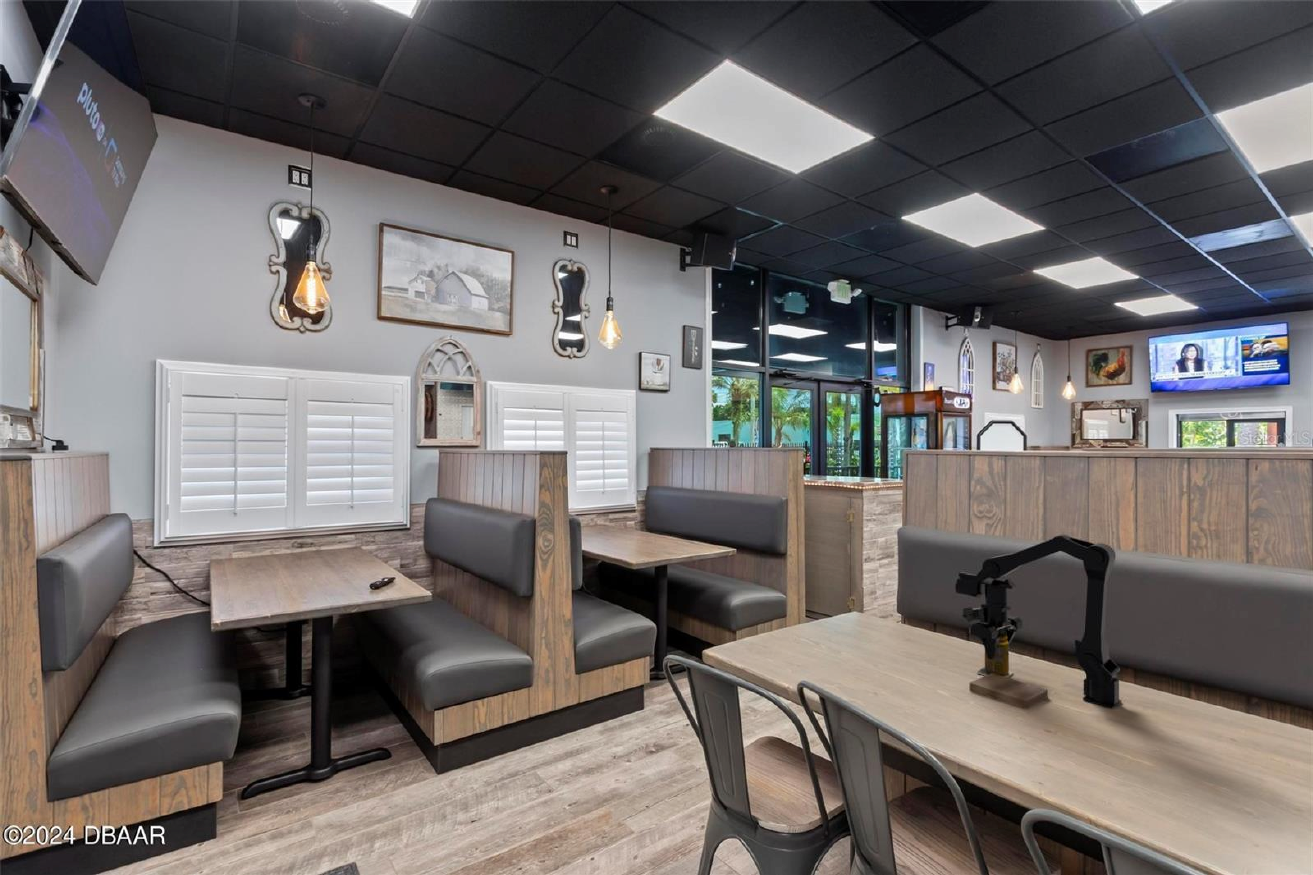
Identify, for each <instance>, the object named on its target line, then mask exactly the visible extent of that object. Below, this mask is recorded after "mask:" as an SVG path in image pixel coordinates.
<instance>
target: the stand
mask: <svg viewBox="0 0 1313 875" xmlns="http://www.w3.org/2000/svg"><path fill="white" fill-rule="evenodd" d="M969 691H970V692H974V693H977V694H979V695H983V696H986V697H989V698H991V699H994V700H998V701H1000V702H1003V703H1007V704H1010V705H1012V706H1015V707H1019V708H1022V709H1023V710H1024V709H1025V710H1027V709H1030V708H1031V707H1033V706H1036V705H1037V704H1039V703H1040V702H1042V700H1043V701H1044V700H1046V699H1048V697H1049V695H1048V694H1049V693H1048V692H1049V691H1048V689H1045V688H1042V687H1039V686H1035V685H1032V684H1029V683H1025V682H1023V681H1020V680H1016V679H1013V678H1009V677H1003V676H1000V675H997V674H993V673H991V674H989V675H987V676H985V675H983V676H982V677H980V678H978V679H975V680H973V681H970V682H969Z"/></svg>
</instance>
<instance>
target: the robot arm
mask: <svg viewBox="0 0 1313 875" xmlns="http://www.w3.org/2000/svg"><path fill="white" fill-rule="evenodd" d="M1059 552H1062V553H1065V554H1067V555H1068V556H1071V557H1072V558H1075V559H1078V560H1080V561H1082V562H1083V563H1082V564H1083V569H1084V572H1085V575H1086V577H1087V586H1086V599H1085V600H1086V602H1085V617H1084V619H1085V620H1084V621H1085V622H1084V633H1083V635H1079V636H1078V637H1077V638H1076V639H1074V647H1075V651H1074V653H1073V656H1074V657H1075V656H1076V662H1077V664H1078V665H1079V666H1080V667H1081V668H1082V669H1083V671H1084V673H1085V678H1084V679H1083V697H1082V700H1083V701H1087V702H1090V703H1093V704H1097V705H1100V706H1104V707H1107V708H1109V707H1110V709H1114V708H1115V707H1117V706H1118V705H1120V704H1122V703H1123V702H1122V700H1121V699H1120V679H1119V678H1115V677H1117V676H1118V675H1119V673H1120V671H1121V668H1120V667H1119V665H1118V664H1116V663H1115V661H1114V660H1113V659H1111V657H1110V650H1109V644H1108V641H1107V639H1106V638H1107V637H1106V635H1105V629H1106V614H1107V612H1106V611H1107V599H1108V598H1107V597H1108V596H1107V594H1108V581H1109V578H1110V575H1111V573H1112V570H1113V567H1114V565H1115V562H1116V558H1117V557H1116V555H1117V554H1116V552H1115V549H1113V548H1112V547H1111V546H1110V545H1108V543H1107V544H1106V543H1099V542H1097V543H1093V542H1090V541H1087V540H1083V539H1079V538H1076V537H1073V536H1069V535H1067V534H1059V535H1056V536H1054V537H1052V538H1050V539H1048V540H1045V541H1043V542H1040V543H1038V544H1035V545H1033V546H1030V547H1027V548H1025V549H1022V550H1019V551H1017V552H1014V553H1013V552H1012V553H1006V554H1002V555H996V556H992V557H989V558H986V559H985V560H984V561H983V563H982V566H981V567H982V568H981V569H980V571H979V572H978V573H977V574H975V573H970V572H965V571H961V572H958V577H957V579H956V583H955V586H954V588H955V593H956V594H957V595H959V596H965V597H969V598H975V599H980V598H981V596H984V602H983V603H982V604H980V607H975V608H973V607H972V606H969V607H964V608H962V615H961V616H962V618H963V619H965V620H966V622H967V623H969V622H972V621H979V622H975V623H973V624H971V625H970V626H969V628H968V629H969V631H968V634H970V635H971V636H975V637H978V638H979V639H980V640H981V642H982V645H983V647H984V652H985V651H986V654H987V657H988V658H989V659H993V656H994V654H995V651H996V648H997V645H998V643H999V640H1000V637H997V635H998V629H1002V630H1005V631H1006V632H1007V641H1008V643H1009V645H1010V644H1011V642H1012V640H1013V639H1014V637H1015V636H1016V634H1017V633H1018V631H1019V629H1022V628H1023V620H1022V618H1020V617H1019V616H1015V615H1010V614H1009V611H1011V610H1012V609H1011V608H1012V607H1011V605H1009V602H1008V600H1009V598H1008V597H1009V595H1008V594H1009V592H1008V590H1012V589H1014V588H1016V587H1017V584H1015V583H1014V582H1013V581H1012V580H1011V578H1007V579H1005V580H1002V579H1000V578H1002V577H1005V576H1008V575H1009V574H1010V573H1012V572H1014V571H1016V570H1017V569H1019V568H1020V567H1022V566H1023V565H1026V564H1029V563H1032V562H1034V561H1037V560H1040V559H1042V558H1045V557H1048V556H1050V555H1053V554H1056V553H1059ZM988 579H991V580H992V581H990V580H988ZM1121 702H1122V703H1121ZM1116 705H1117V706H1116Z"/></svg>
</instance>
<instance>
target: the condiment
mask: <svg viewBox="0 0 1313 875" xmlns="http://www.w3.org/2000/svg"><path fill="white" fill-rule="evenodd" d="M997 637H1000V640H999V643H998V645H997V648H996V651H995V654H994V656H993V659H989V658H988V657H987V654H986V651H985V650H984V666H982V668H980V669H979V670H978V671H976V674H979V675H981V676H987V675H989V674H991V673H993V674H997V675H1000V676H1003V677H1007V678H1009V677H1010V676H1011V675H1012V674H1014V672H1015V671H1014V670H1010V666H1009V664H1010V663H1009V662H1010V661H1009V660H1010V657H1009V656H1010V654H1009V652H1010V651H1009V649H1010V644H1009V643H1008V641H1007V632H1006V631H1005V630H1002V629H998V635H997Z"/></svg>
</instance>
